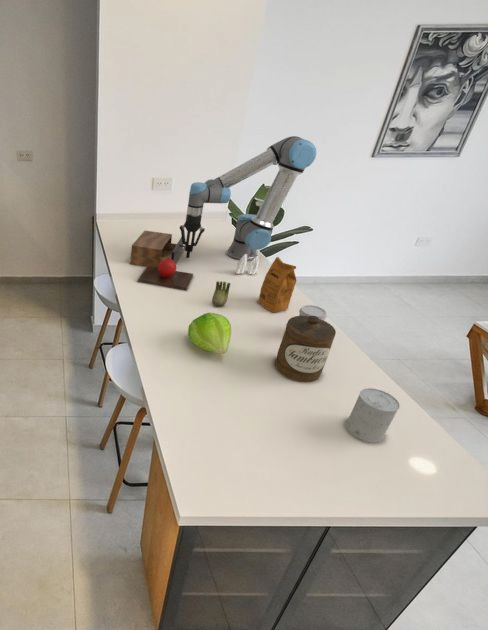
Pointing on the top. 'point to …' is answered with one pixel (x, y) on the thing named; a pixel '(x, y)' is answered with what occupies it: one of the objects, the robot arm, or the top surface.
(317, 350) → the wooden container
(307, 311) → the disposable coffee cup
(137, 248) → the cabinet
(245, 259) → the shaker set
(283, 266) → the coffee package
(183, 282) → the board
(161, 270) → the apple
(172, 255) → the drawer
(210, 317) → the lettuce
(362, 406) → the grey metal can
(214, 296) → the fennel bulb
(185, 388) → the top surface
